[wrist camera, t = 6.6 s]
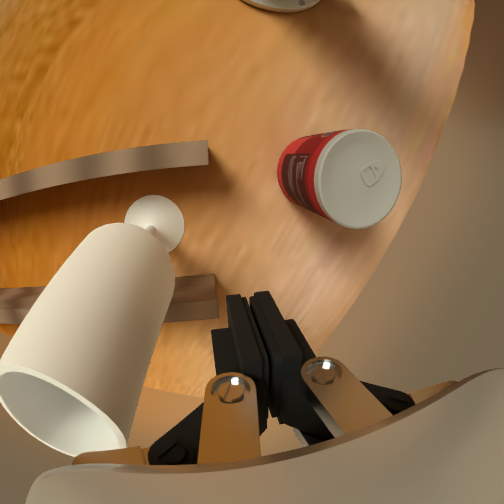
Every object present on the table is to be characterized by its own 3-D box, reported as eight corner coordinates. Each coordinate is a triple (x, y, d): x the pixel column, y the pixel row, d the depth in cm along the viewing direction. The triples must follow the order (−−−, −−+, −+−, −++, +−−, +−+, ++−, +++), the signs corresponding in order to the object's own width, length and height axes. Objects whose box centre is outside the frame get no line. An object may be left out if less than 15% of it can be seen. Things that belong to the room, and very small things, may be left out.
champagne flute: (133, 261, 28) (47, 462, 6) (117, 203, 26) (-56, 336, 3) (191, 249, 29) (190, 472, 7) (177, 187, 27) (86, 318, 4)
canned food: (351, 166, 29) (415, 174, 19) (312, 219, 30) (364, 249, 20) (304, 121, 27) (359, 106, 16) (260, 177, 28) (296, 188, 18)
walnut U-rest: (205, 144, 26) (207, 140, 20) (215, 289, 31) (219, 317, 25) (-42, 199, 19) (-67, 208, 14) (-18, 301, 25) (-37, 319, 19)
